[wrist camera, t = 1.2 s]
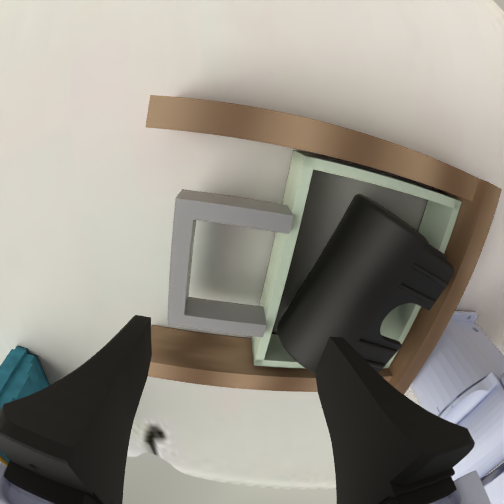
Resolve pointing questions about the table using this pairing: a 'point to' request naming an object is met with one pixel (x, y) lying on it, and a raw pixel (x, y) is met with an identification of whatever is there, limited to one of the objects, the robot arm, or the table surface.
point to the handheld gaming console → (20, 379)
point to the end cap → (362, 286)
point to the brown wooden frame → (346, 148)
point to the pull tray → (282, 253)
